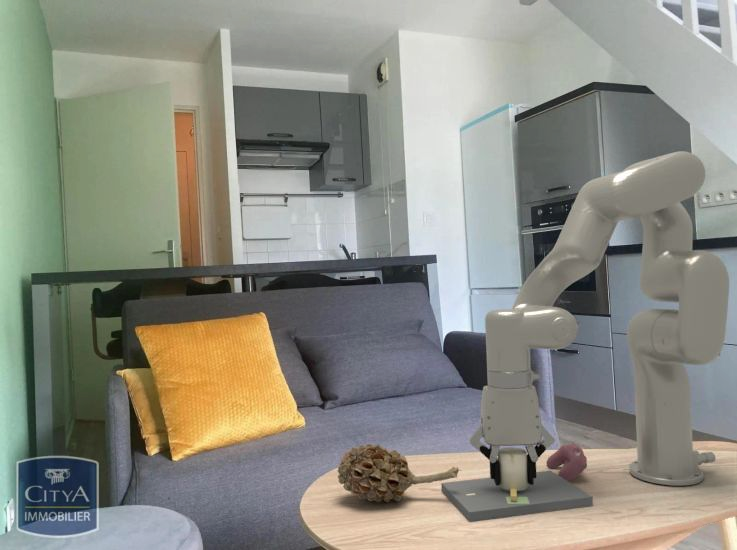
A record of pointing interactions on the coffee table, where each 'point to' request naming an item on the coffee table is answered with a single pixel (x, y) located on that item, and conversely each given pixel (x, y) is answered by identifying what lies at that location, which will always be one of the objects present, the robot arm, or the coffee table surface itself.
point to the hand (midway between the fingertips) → (513, 481)
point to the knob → (513, 470)
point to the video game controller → (568, 461)
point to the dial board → (494, 502)
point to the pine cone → (381, 473)
